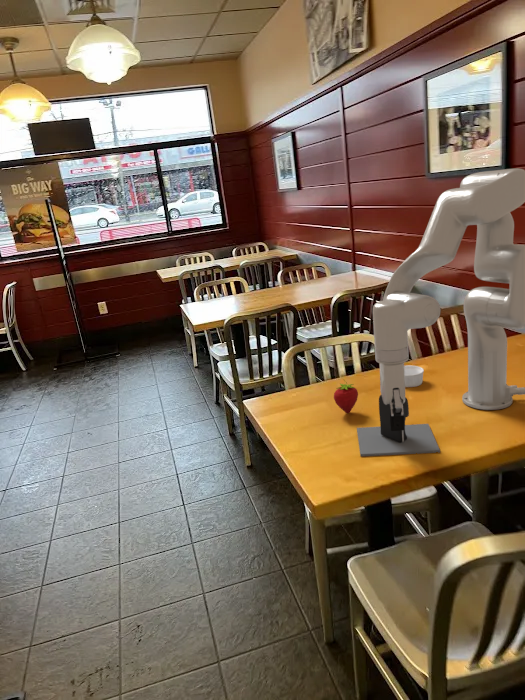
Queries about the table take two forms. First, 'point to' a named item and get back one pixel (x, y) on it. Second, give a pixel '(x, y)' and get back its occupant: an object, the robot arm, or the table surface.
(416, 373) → the ramekin
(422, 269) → the robot arm
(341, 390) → the strawberry
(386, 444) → the mat
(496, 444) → the table surface
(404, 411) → the battery charger
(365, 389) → the table surface
